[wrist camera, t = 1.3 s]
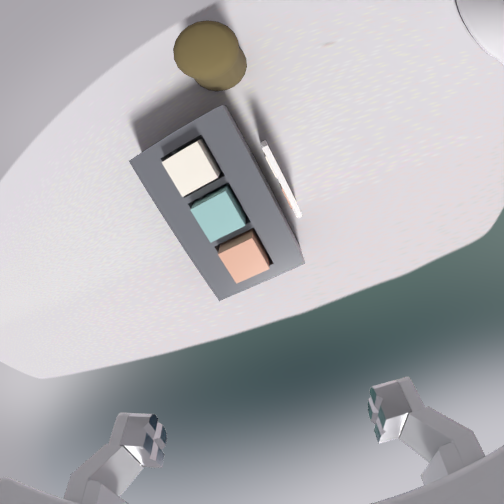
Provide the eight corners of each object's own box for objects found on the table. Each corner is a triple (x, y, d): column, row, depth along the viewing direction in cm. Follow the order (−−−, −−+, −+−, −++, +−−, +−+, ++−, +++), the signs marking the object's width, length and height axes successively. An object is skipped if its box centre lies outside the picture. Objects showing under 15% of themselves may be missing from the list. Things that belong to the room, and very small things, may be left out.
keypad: (242, 97, 30) (240, 94, 26) (314, 240, 38) (322, 258, 33) (142, 154, 33) (126, 162, 28) (222, 281, 40) (218, 304, 36)
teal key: (228, 183, 32) (225, 191, 29) (245, 215, 33) (245, 225, 30) (195, 200, 32) (190, 209, 30) (213, 231, 34) (210, 242, 31)
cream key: (202, 138, 29) (197, 141, 27) (221, 171, 31) (217, 177, 28) (169, 157, 30) (161, 162, 28) (188, 189, 32) (182, 197, 29)
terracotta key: (252, 227, 34) (252, 238, 31) (268, 255, 35) (269, 268, 33) (220, 242, 35) (217, 254, 32) (237, 269, 36) (236, 283, 33)
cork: (179, 71, 29) (147, 56, 19) (215, 30, 26) (198, -2, 17) (222, 101, 30) (207, 98, 20) (258, 61, 28) (261, 39, 18)
